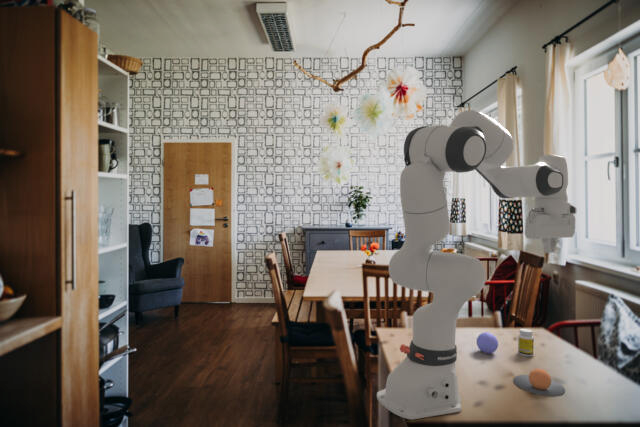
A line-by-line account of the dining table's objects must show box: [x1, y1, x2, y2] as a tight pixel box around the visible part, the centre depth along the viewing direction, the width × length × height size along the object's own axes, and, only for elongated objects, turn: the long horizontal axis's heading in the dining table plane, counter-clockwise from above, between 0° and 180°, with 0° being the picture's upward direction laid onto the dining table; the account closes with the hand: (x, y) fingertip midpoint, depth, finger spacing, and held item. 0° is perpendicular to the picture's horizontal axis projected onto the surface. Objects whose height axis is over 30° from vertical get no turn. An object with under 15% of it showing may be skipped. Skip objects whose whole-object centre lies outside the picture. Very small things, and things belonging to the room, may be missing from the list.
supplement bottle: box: [517, 328, 534, 357], centre depth 137 cm, size 5×5×8 cm
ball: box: [528, 368, 552, 390], centre depth 111 cm, size 6×6×6 cm
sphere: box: [475, 332, 499, 354], centre depth 138 cm, size 7×7×7 cm
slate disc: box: [512, 374, 566, 397], centre depth 113 cm, size 13×13×1 cm
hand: (549, 252), depth 123 cm, fingers closed
